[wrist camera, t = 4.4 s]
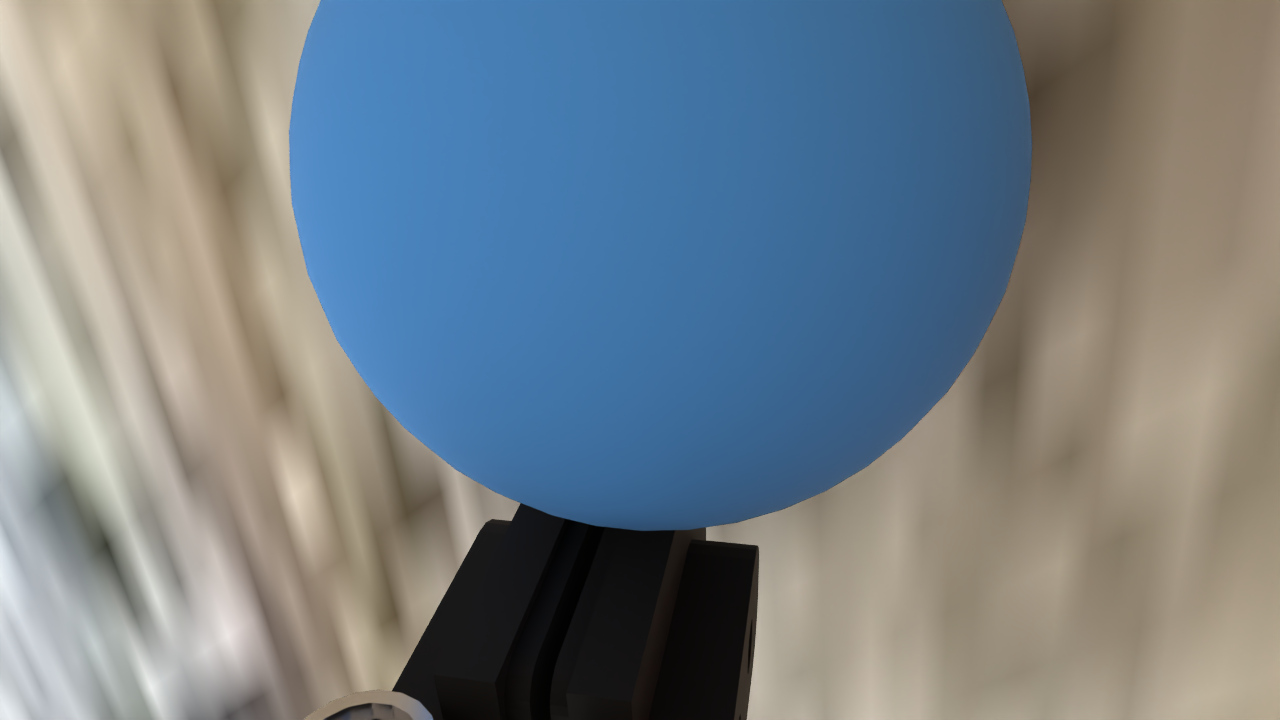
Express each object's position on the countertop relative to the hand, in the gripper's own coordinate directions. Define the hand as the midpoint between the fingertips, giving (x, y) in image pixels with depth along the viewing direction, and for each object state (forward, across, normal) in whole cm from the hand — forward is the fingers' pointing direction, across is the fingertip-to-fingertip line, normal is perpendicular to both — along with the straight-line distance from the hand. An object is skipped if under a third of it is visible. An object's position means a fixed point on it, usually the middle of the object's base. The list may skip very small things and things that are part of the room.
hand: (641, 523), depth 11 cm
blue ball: (-1, 0, -5) cm, 5 cm away
